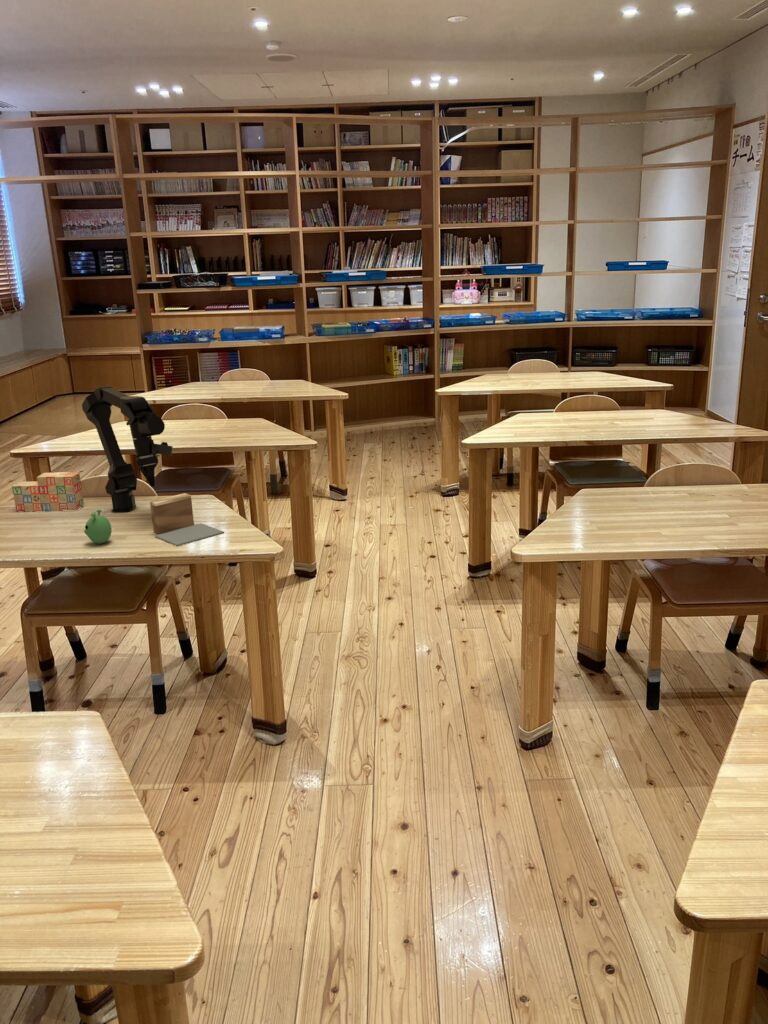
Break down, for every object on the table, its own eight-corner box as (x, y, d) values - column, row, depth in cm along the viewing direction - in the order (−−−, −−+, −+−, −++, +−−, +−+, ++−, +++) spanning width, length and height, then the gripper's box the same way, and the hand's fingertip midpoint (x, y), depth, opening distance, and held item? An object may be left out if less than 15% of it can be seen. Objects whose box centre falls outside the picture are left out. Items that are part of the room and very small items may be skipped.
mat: (154, 537, 242) (154, 535, 242) (201, 524, 253) (201, 523, 253) (177, 546, 233) (176, 544, 233) (224, 533, 244) (224, 531, 244)
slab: (153, 532, 247) (149, 501, 244) (188, 523, 255) (185, 493, 252) (159, 535, 244) (155, 503, 241) (194, 526, 252) (190, 495, 249)
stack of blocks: (15, 512, 274) (9, 477, 271) (24, 507, 280) (18, 472, 277) (77, 511, 273) (72, 476, 270) (84, 506, 279) (79, 471, 276)
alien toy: (91, 539, 242) (86, 507, 240) (116, 539, 242) (112, 507, 239) (82, 547, 236) (77, 514, 233) (108, 546, 235) (103, 513, 232)
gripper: (169, 432, 247) (180, 482, 249) (166, 432, 264) (177, 479, 267) (131, 439, 244) (143, 490, 246) (131, 439, 261) (142, 486, 264)
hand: (152, 486), depth 256 cm, fingers closed
